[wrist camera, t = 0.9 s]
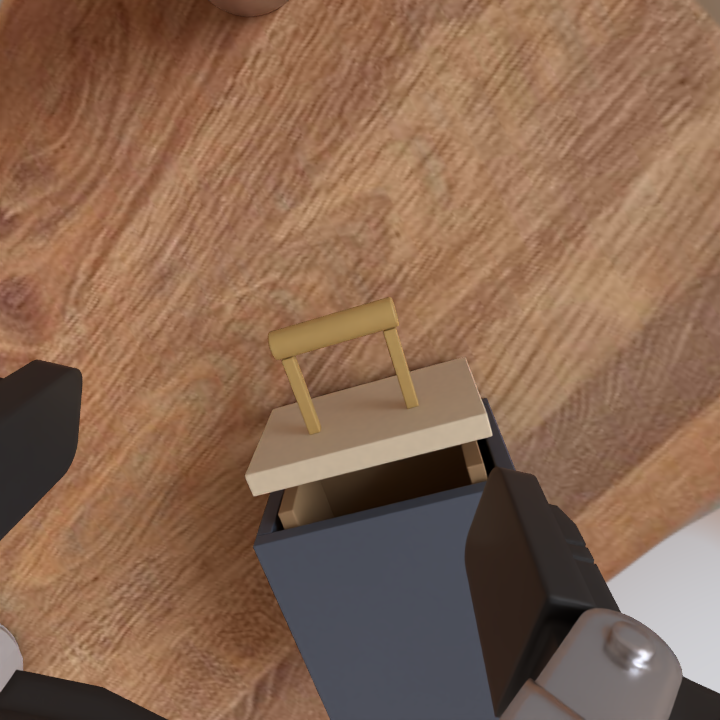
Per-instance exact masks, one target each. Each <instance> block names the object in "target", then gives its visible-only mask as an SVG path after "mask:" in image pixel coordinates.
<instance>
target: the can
mask: <svg viewBox="0 0 720 720" xmlns="http://www.w3.org/2000/svg"><path fill="white" fill-rule="evenodd" d="M16 669H17V670H21V671H23V657H22V655H21V653H20V650H19V646H18V644H17V642H16V639H15V637H14V636H13V635H12V634H11V633H10V632H9V630H8V629H7V628H6V627H4V626H3V625H1V624H0V692H1V691H2V689H3V688H4V687H5V685H6V684H7V682H8V681H9V679H10V678H11V677H12V675H13V674H14V672H15V671H16Z"/></svg>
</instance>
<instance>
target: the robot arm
mask: <svg viewBox="0 0 720 720" xmlns="http://www.w3.org/2000/svg"><path fill="white" fill-rule="evenodd" d="M81 395H82V374H81V372H80V370H79V369H77V368H72V367H68V366H64V365H59V364H55V363H51V362H46V361H42V360H34V361H32V362H30V363H29V364H27V365H25V366H24V367H22V368H20V369H19V370H17V371H15V372H14V373H12V374H10V375H9V376H7V377H5V378H0V540H1V539H2V538H3V537H4V536H5V535H6V534H7V533H8V532H9V531H10V530H11V529H12V528H13V527H14V526H15V525H16V524H17V523H18V522H19V521H20V520H21V519H22V518H23V517H24V516H25V515H26V514H27V513H28V512H29V511H30V510H31V509H32V508H33V507H34V506H35V504H36V503H37V502H38V501H39V500H40V499H41V498H42V497H43V496H44V495H45V494H46V493H47V492H48V491H49V490H50V489H51V488H52V487H53V486H54V485H55V484H56V483H57V482H58V481H59V480H60V479H61V478H62V477H63V476H64V475H65V473H66V472H67V470H68V469H69V467H70V465H71V463H72V461H73V459H74V456H75V453H76V449H77V443H78V433H79V420H80V408H81ZM585 545H586V543H585V542H584V540H583V538H582V536H581V534H580V532H579V530H578V528H577V526H576V524H575V523H574V522H573V521H572V520H571V519H570V518H569V517H568V516H567V515H566V514H565V513H564V512H563V511H562V510H561V509H560V508H559V507H558V506H555V505H551V504H548V502H547V500H546V497H545V495H544V493H543V491H542V489H541V487H540V485H539V482H538V480H537V478H536V477H535V476H534V475H532V474H528V473H524V472H519V471H515V470H511V469H506V468H502V467H498V466H496V467H494V468H493V469H492V471H491V472H490V474H489V477H488V479H487V482H486V485H485V488H484V490H483V493H482V496H481V499H480V501H479V504H478V507H477V510H476V512H475V515H474V518H473V521H472V523H471V526H470V529H469V532H468V535H467V540H466V545H465V557H464V560H465V568H466V573H467V578H468V583H469V588H470V593H471V598H472V603H473V608H474V613H475V618H476V623H477V629H478V634H479V639H480V644H481V649H482V654H483V659H484V664H485V669H486V674H487V679H488V684H489V689H490V694H491V699H492V704H493V709H494V714H495V717H498V718H500V719H499V720H720V694H719V693H717V692H715V691H713V690H711V689H709V688H706V687H704V686H702V685H700V684H698V683H695V682H693V681H691V680H689V679H687V678H685V677H683V675H682V669H681V666H680V663H679V661H678V659H677V657H676V655H675V654H674V653H673V651H672V650H671V648H670V647H669V646H668V645H667V644H666V643H665V642H664V641H663V640H662V639H661V638H660V637H659V636H658V635H657V634H656V633H655V632H653V631H652V630H651V629H649V628H648V627H647V626H645V625H644V624H642V623H641V622H639V621H637V620H635V619H634V618H632V617H630V616H627V615H625V614H622V613H621V611H620V610H619V608H618V606H617V604H616V602H615V600H614V598H613V596H612V594H611V592H610V590H609V588H608V586H607V584H606V582H605V580H604V578H603V577H602V575H601V573H600V571H599V569H598V567H597V565H596V564H594V559H593V557H592V555H591V553H590V551H589V549H588V548H586V547H585ZM0 720H167V719H165V718H163V717H161V716H159V715H157V714H155V713H153V712H151V711H149V710H147V709H145V708H143V707H141V706H139V705H137V704H135V703H133V702H131V701H129V700H127V699H125V698H123V697H121V696H119V695H117V694H115V693H113V692H111V691H109V690H107V689H105V688H103V687H99V686H94V685H89V684H85V683H80V682H75V681H70V680H65V679H60V678H55V677H51V676H46V675H41V674H36V673H31V672H26V671H21V670H17V669H16V671H15V672H14V674H13V675H12V677H11V678H10V679H9V681H8V682H7V684H6V685H5V687H4V688H3V689H2V691H1V692H0Z"/></svg>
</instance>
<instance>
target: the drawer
mask: <svg viewBox="0 0 720 720" xmlns="http://www.w3.org/2000/svg"><path fill="white" fill-rule="evenodd" d="M397 326H399V321H398V317H397V313H396V309H395V306H394V303H393V300H392V298H391V297H387V298H384V299H380V300H377V301H374V302H370V303H367V304H363V305H360V306H357V307H353V308H350V309H346V310H343V311H340V312H336V313H333V314H329V315H326V316H323V317H319V318H316V319H312V320H309V321H305V322H302V323H299V324H295V325H292V326H288V327H285V328H282V329H278V330H275V331H271V332H269V334H268V343H269V347H270V350H271V353H272V355H273V357H274V358H275V359H276V360H282V364H283V366H284V369H285V372H286V374H287V377H288V380H289V382H290V385H291V388H292V390H293V393H294V395H295V398H296V401H297V403H294V404H290V405H286V406H283V407H279V408H275V409H273V410H272V412H271V414H270V417H269V419H268V421H267V424H266V426H265V429H264V431H263V433H262V436H261V438H260V440H259V443H258V445H257V448H256V450H255V452H254V455H253V457H252V460H251V462H250V464H249V467H248V469H247V471H246V474H245V478H246V481H247V483H248V485H249V488H250V490H251V492H252V495H253V496H258V495H262V494H266V493H270V492H274V491H278V490H282V489H285V492H284V495H283V499H282V502H281V506H280V509H279V513H278V515H279V518H280V520H281V522H282V525H283V527H284V530H286V529H290V528H294V527H298V526H303V525H307V524H311V523H315V522H319V521H323V520H327V519H331V518H336V517H340V516H344V515H348V514H352V513H356V512H360V511H364V510H369V509H373V508H377V507H381V506H385V505H389V504H393V503H397V502H401V501H406V500H410V499H414V498H418V497H422V496H426V495H430V494H434V493H439V492H443V491H447V490H451V489H455V488H459V487H463V486H467V485H472V484H476V483H480V482H484V481H487V479H488V477H487V474H486V470H485V466H484V463H483V460H482V456H481V453H480V450H479V447H478V443H477V440H480V439H484V438H488V437H491V436H492V431H491V427H490V423H489V419H488V415H487V412H486V410H485V407H484V404H483V402H482V399H481V396H480V394H479V391H478V389H477V386H476V383H475V381H474V378H473V375H472V373H471V370H470V367H469V365H468V362H467V360H466V357H462V358H458V359H454V360H451V361H447V362H443V363H440V364H436V365H432V366H429V367H425V368H421V369H418V370H414V371H410V372H409V369H408V365H407V362H406V359H405V356H404V352H403V349H402V346H401V342H400V339H399V336H398V333H397V329H396V327H397ZM380 331H383V334H384V337H385V340H386V343H387V346H388V350H389V353H390V356H391V359H392V362H393V366H394V369H395V372H396V376H392V377H389V378H385V379H381V380H378V381H374V382H370V383H367V384H363V385H359V386H356V387H352V388H348V389H345V390H341V391H337V392H334V393H330V394H326V395H323V396H319V397H315V398H312V399H311V397H310V394H309V392H308V389H307V386H306V384H305V381H304V378H303V375H302V373H301V370H300V367H299V365H298V362H297V359H296V355H299V354H303V353H306V352H310V351H313V350H317V349H320V348H324V347H327V346H331V345H334V344H338V343H341V342H345V341H348V340H352V339H355V338H359V337H362V336H366V335H369V334H373V333H376V332H380Z"/></svg>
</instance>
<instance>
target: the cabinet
mask: <svg viewBox="0 0 720 720" xmlns="http://www.w3.org/2000/svg"><path fill="white" fill-rule="evenodd" d="M482 402H483V404H484V407H485V410H486V412H487V415H488V419H489V423H490V427H491V431H492V436H491V437H488V438H484V439H480V440H477V443H478V447H479V450H480V453H481V456H482V460H483V463H484V466H485V470H486V474H487V477H489V474H490V472H491V471H492V469H493V468H494V467H496V466H498V467H502V468H506V469H511V470H515V468H514V465H513V463H512V460H511V458H510V455H509V453H508V450H507V448H506V445H505V443H504V440H503V438H502V435H501V433H500V430H499V428H498V425H497V423H496V420H495V418H494V415H493V413H492V410H491V408H490V405H489V402H488V400H487V398H484V399H482ZM515 471H516V470H515ZM486 482H487V481H484V482H480V483H476V484H472V485H467V486H463V487H459V488H455V489H451V490H447V491H443V492H439V493H434V494H430V495H426V496H422V497H418V498H414V499H410V500H406V501H401V502H397V503H393V504H389V505H385V506H381V507H377V508H373V509H369V510H364V511H360V512H356V513H352V514H348V515H344V516H340V517H336V518H331V519H327V520H323V521H319V522H315V523H311V524H307V525H303V526H298V527H294V528H290V529H286V530H284V527H283V525H282V522H281V520H280V518H279V515H278V513H279V509H280V506H281V502H282V499H283V495H284V492H285V489H282V490H278V491H274V492H271V493H270V496H269V499H268V502H267V505H266V508H265V511H264V514H263V517H262V520H261V523H260V526H259V530H258V533H257V537H256V539H255V542H254V545H253V548H254V550H255V552H256V555H257V557H258V559H259V561H260V564H261V566H262V568H263V570H264V573H265V575H266V577H267V579H268V582H269V584H270V586H271V588H272V590H273V593H274V595H275V597H276V599H277V602H278V604H279V606H280V608H281V611H282V613H283V615H284V617H285V620H286V622H287V624H288V626H289V628H290V631H291V633H292V635H293V637H294V640H295V642H296V644H297V646H298V649H299V651H300V653H301V655H302V658H303V660H304V662H305V664H306V666H307V669H308V671H309V673H310V675H311V678H312V680H313V682H314V684H315V687H316V689H317V691H318V693H319V696H320V698H321V700H322V702H323V704H324V707H325V709H326V711H327V713H328V716H329V718H330V720H499V719H500V718H498V717H495V714H494V709H493V704H492V699H491V694H490V689H489V684H488V679H487V674H486V669H485V664H484V659H483V654H482V649H481V644H480V639H479V634H478V629H477V623H476V618H475V613H474V608H473V603H472V598H471V593H470V588H469V583H468V578H467V573H466V568H465V560H464V557H465V545H466V540H467V535H468V532H469V529H470V526H471V523H472V521H473V518H474V515H475V512H476V510H477V507H478V504H479V501H480V499H481V496H482V493H483V490H484V488H485V485H486Z"/></svg>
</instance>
